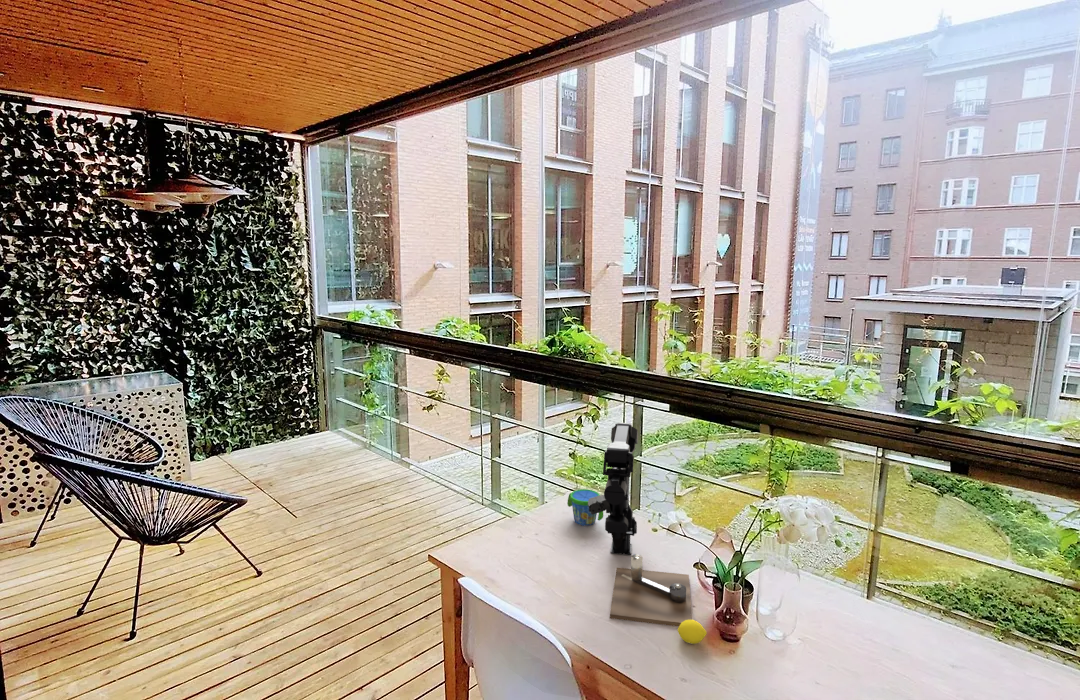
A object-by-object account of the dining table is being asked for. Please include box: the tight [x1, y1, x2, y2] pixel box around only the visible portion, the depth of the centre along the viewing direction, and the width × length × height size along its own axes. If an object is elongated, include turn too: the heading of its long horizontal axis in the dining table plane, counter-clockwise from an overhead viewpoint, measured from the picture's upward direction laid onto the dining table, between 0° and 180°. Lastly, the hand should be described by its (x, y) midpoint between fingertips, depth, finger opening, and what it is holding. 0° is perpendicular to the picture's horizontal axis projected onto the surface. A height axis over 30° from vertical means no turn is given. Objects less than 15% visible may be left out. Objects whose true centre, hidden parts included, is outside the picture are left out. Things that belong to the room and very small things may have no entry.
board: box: [609, 567, 693, 628], centre depth 158 cm, size 23×21×1 cm
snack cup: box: [566, 488, 604, 527], centre depth 202 cm, size 16×10×10 cm
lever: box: [630, 554, 686, 603], centre depth 158 cm, size 17×4×7 cm, turn 49°
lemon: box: [677, 619, 708, 645], centre depth 139 cm, size 7×5×5 cm
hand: (617, 539), depth 166 cm, fingers open, 9 cm apart
